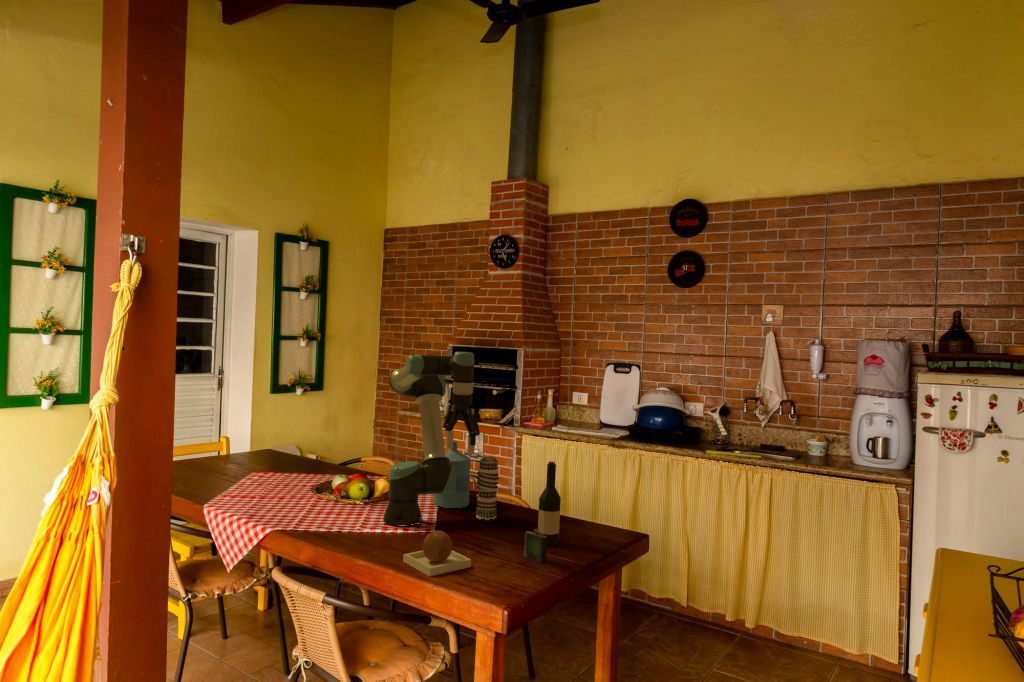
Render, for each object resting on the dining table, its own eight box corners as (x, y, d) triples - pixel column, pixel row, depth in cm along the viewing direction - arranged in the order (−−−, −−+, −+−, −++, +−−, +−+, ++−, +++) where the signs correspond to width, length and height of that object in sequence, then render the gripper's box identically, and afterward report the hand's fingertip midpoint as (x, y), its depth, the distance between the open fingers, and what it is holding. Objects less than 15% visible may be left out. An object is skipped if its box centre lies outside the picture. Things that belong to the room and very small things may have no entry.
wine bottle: (562, 542, 257) (566, 462, 257) (552, 547, 250) (556, 465, 250) (543, 537, 261) (547, 459, 261) (532, 543, 254) (536, 462, 254)
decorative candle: (472, 519, 283) (475, 458, 282) (477, 513, 292) (480, 454, 291) (494, 521, 281) (497, 460, 281) (499, 515, 290) (501, 456, 290)
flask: (522, 557, 238) (524, 526, 237) (528, 555, 240) (529, 525, 240) (542, 564, 231) (544, 532, 231) (548, 562, 234) (550, 531, 233)
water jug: (432, 500, 310) (435, 438, 310) (466, 500, 313) (469, 439, 313) (434, 509, 295) (437, 444, 295) (471, 509, 298) (473, 445, 297)
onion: (444, 554, 233) (446, 525, 233) (456, 564, 224) (457, 533, 224) (417, 558, 229) (419, 528, 229) (428, 567, 220) (429, 536, 220)
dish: (403, 561, 227) (403, 554, 227) (443, 553, 238) (443, 546, 238) (429, 576, 215) (429, 568, 215) (470, 566, 225) (471, 559, 225)
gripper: (435, 390, 261) (432, 446, 261) (474, 397, 242) (471, 457, 242) (451, 390, 266) (449, 445, 266) (491, 397, 247) (488, 455, 247)
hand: (459, 451), depth 254 cm, fingers open, 13 cm apart
